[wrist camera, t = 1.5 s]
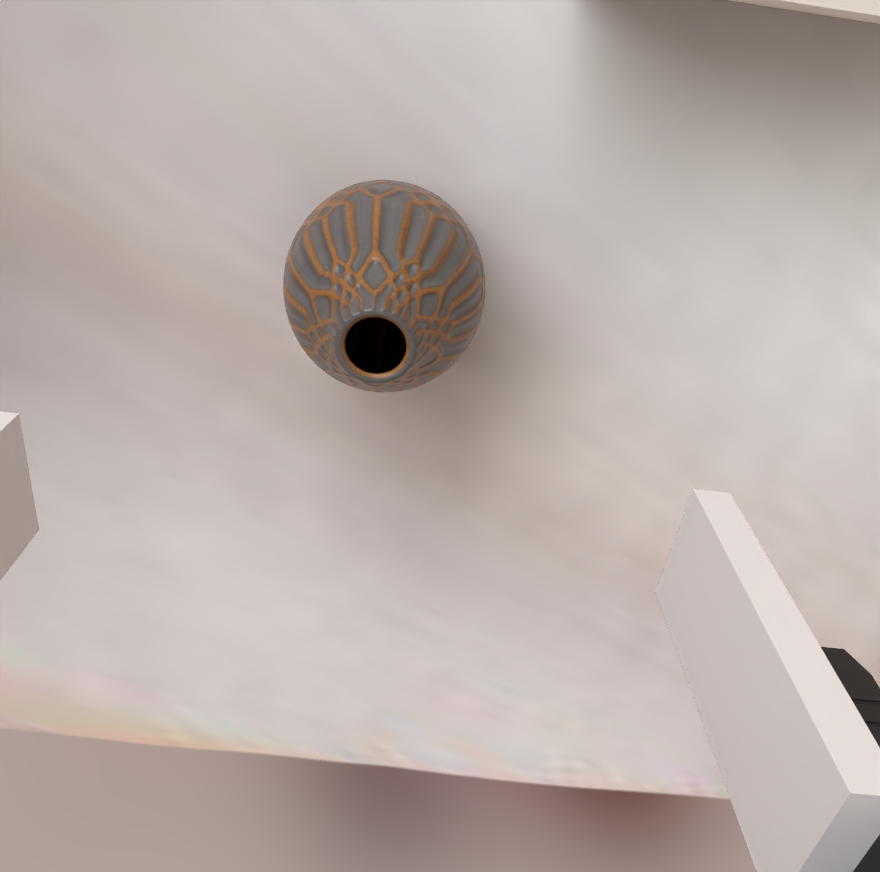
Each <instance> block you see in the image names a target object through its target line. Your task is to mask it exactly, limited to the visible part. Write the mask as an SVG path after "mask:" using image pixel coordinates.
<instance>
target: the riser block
mask: <svg viewBox="0 0 880 872" xmlns="http://www.w3.org/2000/svg"><path fill="white" fill-rule="evenodd" d="M729 1H736V2H742V3H748V4H755V5H761V6H768V7H774V8H780V9H787V10H793V11H799V12H806V13H812V14H819V15H825V16H831V17H838V18H844V19H851V20H857V21H863V22H870V23H876V24H880V0H729Z"/></svg>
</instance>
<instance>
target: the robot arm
mask: <svg viewBox="0 0 880 872" xmlns="http://www.w3.org/2000/svg"><path fill="white" fill-rule="evenodd" d="M38 530H39V527H38V521H37V515H36V510H35V504H34V498H33V493H32V487H31V481H30V475H29V470H28V464H27V458H26V453H25V447H24V441H23V435H22V430H21V424H20V418H19V414H18V413H9V412H0V580H1V579H2V578H3V576H4V575H5V574H6V572H7V571H8V570H9V568H10V567H11V566H12V564H13V563H14V562H15V560H16V559H17V558H18V556H19V555H20V554H21V553H22V551H23V550H24V549H25V547H26V546H27V545H28V543H29V542H30V541H31V539H32V538H33V537H34V535H35V534H36V533H37V531H38ZM655 593H656V596H657V598H658V601H659V604H660V607H661V609H662V612H663V615H664V618H665V621H666V623H667V626H668V629H669V632H670V634H671V637H672V640H673V643H674V645H675V648H676V651H677V654H678V656H679V659H680V662H681V665H682V667H683V670H684V673H685V676H686V678H687V681H688V684H689V687H690V690H691V692H692V695H693V698H694V701H695V703H696V706H697V709H698V712H699V714H700V717H701V720H702V723H703V725H704V728H705V731H706V734H707V736H708V739H709V742H710V745H711V747H712V750H713V753H714V756H715V759H716V761H717V764H718V767H719V770H720V772H721V775H722V778H723V781H724V783H725V786H726V789H727V792H728V794H729V797H730V800H731V803H732V805H733V808H734V811H735V813H736V816H737V819H738V821H739V825H740V828H741V830H742V833H743V836H744V838H745V841H746V844H747V847H748V849H749V852H750V855H751V858H752V861H753V863H754V866H755V869H756V872H880V688H879V686H878V685H877V683H876V682H875V680H874V678H873V677H872V675H871V674H870V673H869V672H868V671H867V670H866V669H865V668H864V667H862V666H861V665H860V664H859V663H858V662H857V661H856V660H855V659H854V658H853V657H852V656H851V655H850V654H848V653H847V652H846V651H845V650H844V649H837V648H827V647H820V645H819V643H818V642H817V640H816V638H815V637H814V635H813V633H812V632H811V630H810V628H809V626H808V625H807V623H806V621H805V620H804V618H803V616H802V615H801V613H800V611H799V609H798V608H797V606H796V604H795V603H794V601H793V599H792V598H791V596H790V594H789V592H788V591H787V589H786V587H785V586H784V584H783V582H782V580H781V579H780V577H779V575H778V574H777V572H776V570H775V569H774V567H773V565H772V563H771V562H770V560H769V558H768V557H767V555H766V553H765V552H764V550H763V548H762V546H761V545H760V543H759V541H758V540H757V538H756V536H755V535H754V533H753V531H752V529H751V528H750V526H749V524H748V523H747V521H746V519H745V518H744V516H743V514H742V512H741V511H740V509H739V507H738V506H737V504H736V502H735V500H734V499H733V497H732V495H731V494H730V493H727V492H718V491H709V490H700V489H693V490H692V493H691V496H690V498H689V501H688V504H687V507H686V509H685V512H684V515H683V518H682V520H681V523H680V526H679V529H678V531H677V534H676V537H675V540H674V542H673V545H672V548H671V550H670V553H669V556H668V559H667V561H666V564H665V567H664V570H663V572H662V575H661V578H660V581H659V583H658V586H657V589H656V592H655Z"/></svg>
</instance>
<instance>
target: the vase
mask: <svg viewBox="0 0 880 872" xmlns="http://www.w3.org/2000/svg"><path fill="white" fill-rule="evenodd" d="M283 289H284V300H285V306H286V311H287V315H288V318H289V322H290V324H291V327H292V330H293V332H294V334H295V336H296V338H297V340H298V341H299V343H300V345H301V347H302V348H303V349H304V351H305V352H306V354H307V355H308V356H309V357H310V358H311V359H312V360H313V362H314V363H315V364H317V365H318V366H319V367H320V368H321V369H322V370H323V371H325V372H326V373H327V374H329V375H330V376H331V377H333V378H335V379H336V380H338V381H340V382H342V383H344V384H347V385H349V386H352V387H355V388H358V389H362V390H366V391H373V392H397V391H403V390H407V389H411V388H414V387H417V386H420V385H422V384H425V383H427V382H429V381H431V380H432V379H434V378H436V377H437V376H439V375H440V374H442V373H443V372H444V371H445V370H447V369H448V368H449V367H450V366H451V365H452V364H453V363H454V362H455V361H456V360H457V359H458V358H459V357H460V355H461V354H462V353H463V352H464V350H465V349H466V347H467V346H468V344H469V343H470V341H471V339H472V337H473V335H474V334H475V331H476V329H477V327H478V324H479V321H480V318H481V314H482V311H483V306H484V299H485V276H484V268H483V263H482V259H481V255H480V252H479V249H478V246H477V244H476V241H475V239H474V237H473V235H472V233H471V232H470V230H469V228H468V226H467V225H466V223H465V222H464V221H463V219H462V218H461V217H460V215H459V214H458V213H457V212H456V211H455V210H454V209H453V208H452V207H451V206H450V205H449V204H448V203H446V202H445V201H444V200H443V199H441V198H440V197H438V196H437V195H435V194H433V193H432V192H430V191H428V190H426V189H424V188H421V187H419V186H416V185H413V184H410V183H405V182H400V181H393V180H375V181H367V182H362V183H358V184H355V185H352V186H349V187H346V188H344V189H342V190H340V191H338V192H337V193H335V194H333V195H332V196H330V197H329V198H327V199H326V200H325V201H324V202H322V203H321V204H320V205H319V206H318V207H317V208H316V209H315V210H314V211H313V212H312V213H311V214H310V215H309V216H308V218H307V219H306V220H305V222H304V223H303V224H302V226H301V227H300V229H299V231H298V232H297V234H296V236H295V238H294V240H293V242H292V245H291V247H290V250H289V253H288V256H287V259H286V264H285V271H284V283H283Z"/></svg>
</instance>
